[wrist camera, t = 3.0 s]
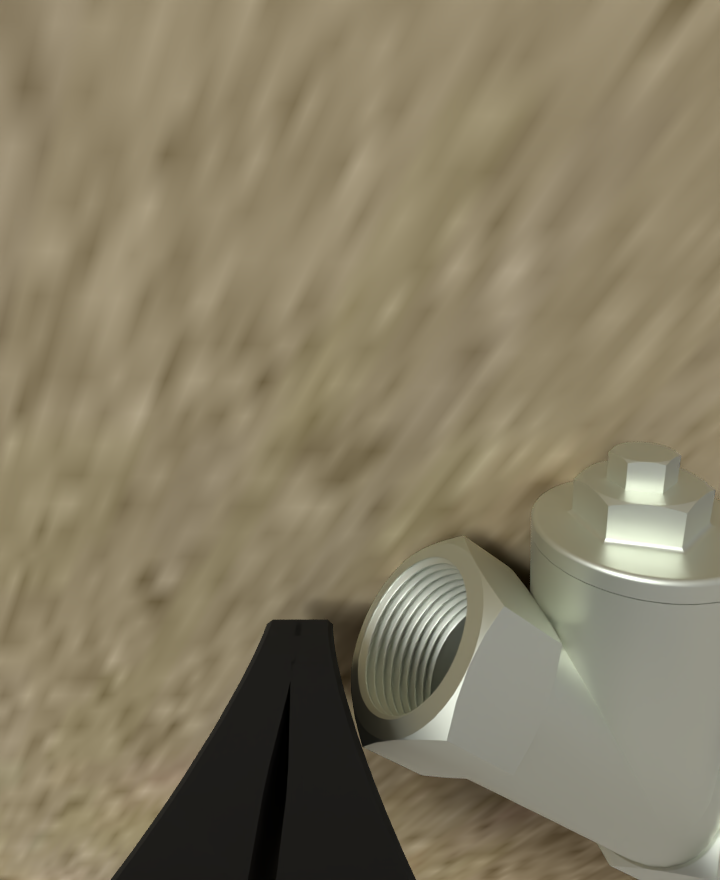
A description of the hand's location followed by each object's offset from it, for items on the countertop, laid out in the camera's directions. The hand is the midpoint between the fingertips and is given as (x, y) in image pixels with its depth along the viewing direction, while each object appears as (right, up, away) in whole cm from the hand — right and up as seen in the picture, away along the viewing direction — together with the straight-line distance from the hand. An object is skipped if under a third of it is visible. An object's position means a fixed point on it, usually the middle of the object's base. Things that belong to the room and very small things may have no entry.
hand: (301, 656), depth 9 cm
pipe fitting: (+6, +1, +1) cm, 6 cm away
